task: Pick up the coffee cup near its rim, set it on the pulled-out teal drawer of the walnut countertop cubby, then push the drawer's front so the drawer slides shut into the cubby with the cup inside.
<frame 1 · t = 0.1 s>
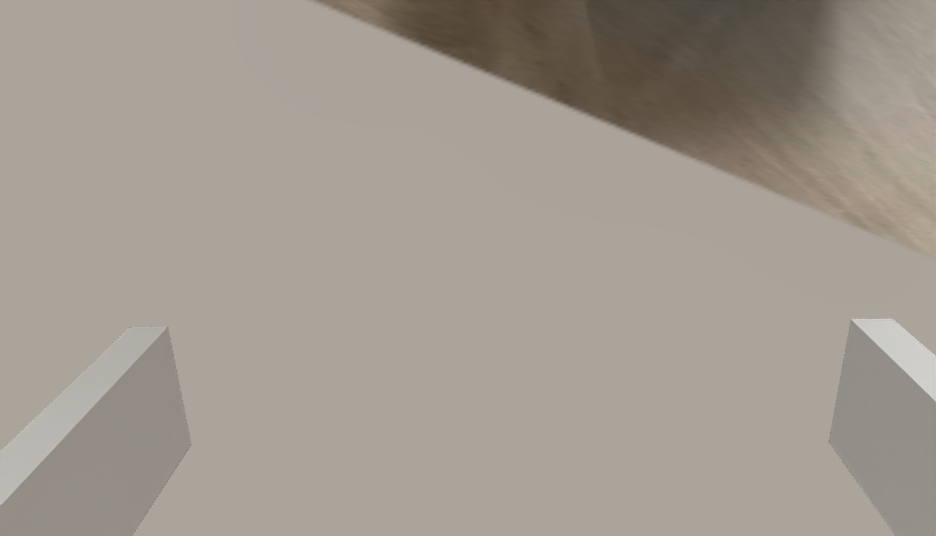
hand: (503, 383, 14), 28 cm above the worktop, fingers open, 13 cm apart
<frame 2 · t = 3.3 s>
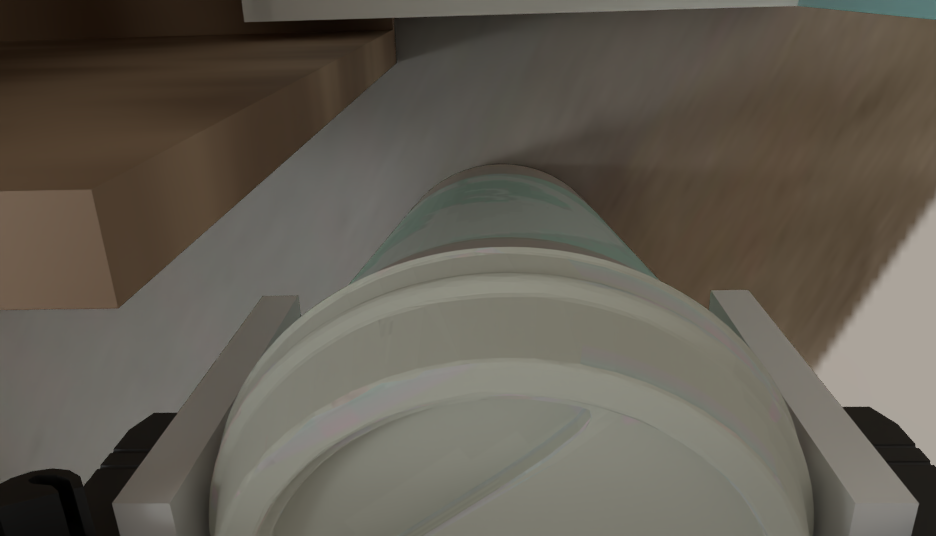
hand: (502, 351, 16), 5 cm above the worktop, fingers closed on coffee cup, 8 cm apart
coffee cup: (500, 264, 20), on the worktop, touching gripper
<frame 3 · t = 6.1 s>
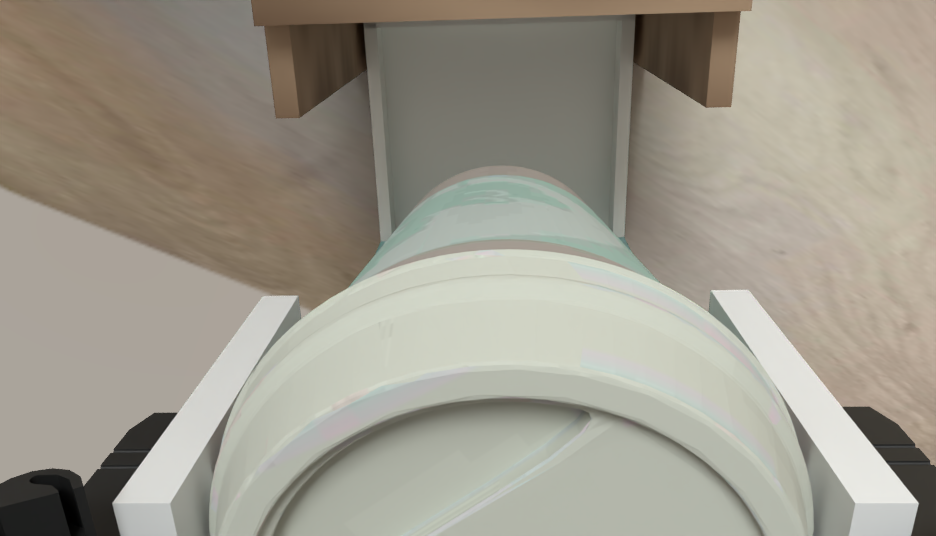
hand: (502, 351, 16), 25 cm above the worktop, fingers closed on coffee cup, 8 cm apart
coffee cup: (500, 265, 20), point 20 cm above the worktop, touching gripper
teal drawer: (500, 150, 35), point 4 cm above the worktop, slide at 8.5 cm
when the fingers open (8 cm above the worktop, at t = 9.1 s): coffee cup drops 1 cm, resting on teal drawer.
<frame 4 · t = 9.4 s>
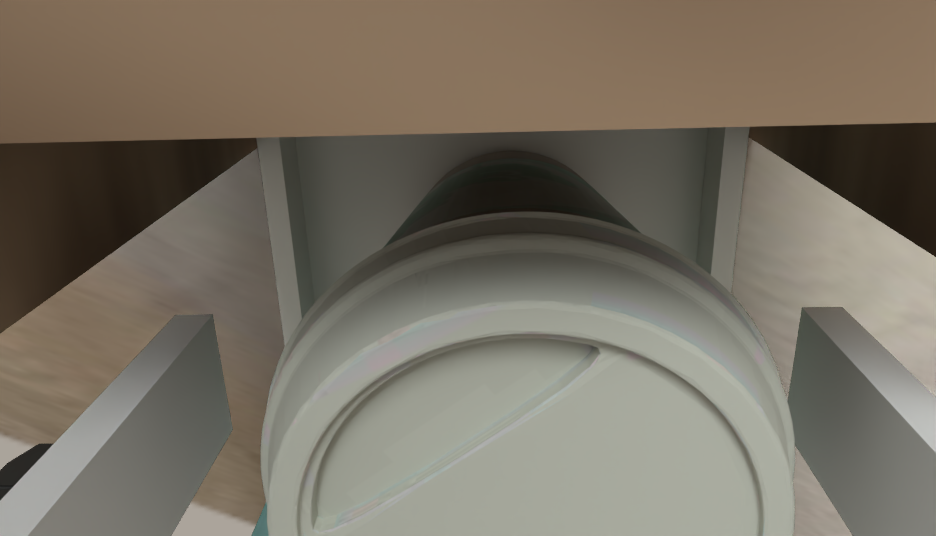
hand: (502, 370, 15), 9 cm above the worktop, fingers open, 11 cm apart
coffee cup: (509, 245, 22), point 1 cm above the worktop, touching teal drawer
teal drawer: (501, 300, 19), point 4 cm above the worktop, slide at 8.5 cm, touching coffee cup
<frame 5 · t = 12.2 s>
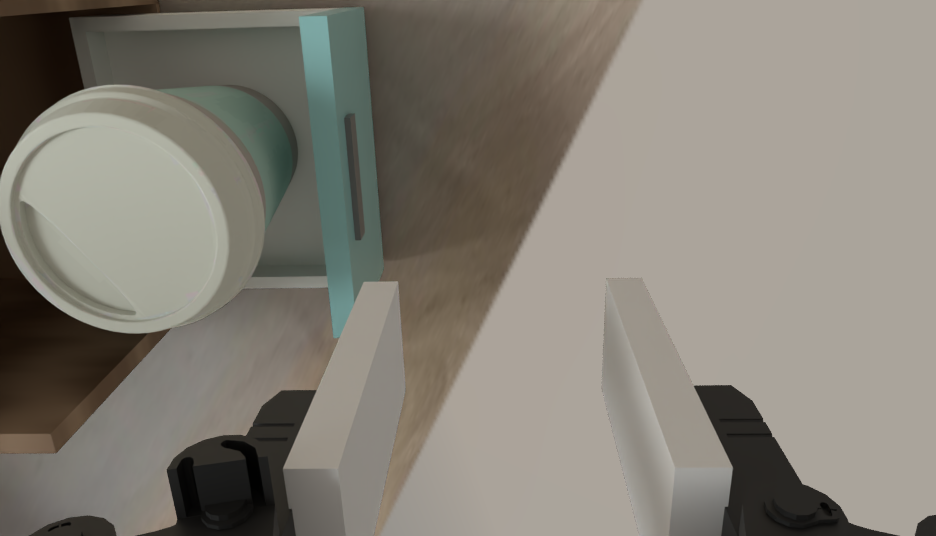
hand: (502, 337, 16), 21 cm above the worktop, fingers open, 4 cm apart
cubby: (65, 150, 36), on the worktop
coffee cup: (238, 146, 35), point 1 cm above the worktop, touching teal drawer
teal drawer: (223, 168, 32), point 4 cm above the worktop, slide at 8.5 cm, touching coffee cup
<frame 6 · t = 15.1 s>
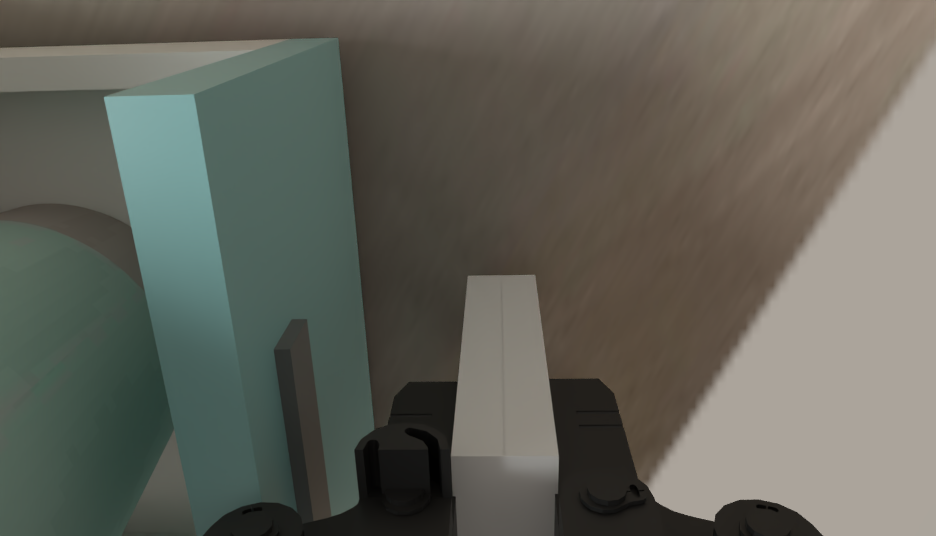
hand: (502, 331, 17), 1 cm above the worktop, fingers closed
coffee cup: (85, 321, 17), point 1 cm above the worktop, touching teal drawer
teal drawer: (21, 405, 14), point 4 cm above the worktop, slide at 8.4 cm, touching coffee cup, gripper
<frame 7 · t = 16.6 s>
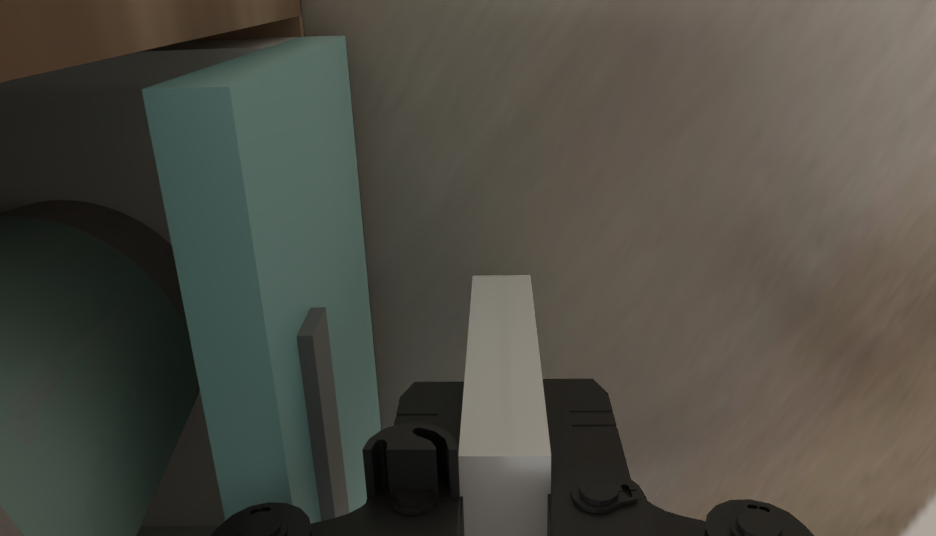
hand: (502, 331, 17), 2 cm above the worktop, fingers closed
cubby: (96, 304, 18), on the worktop
coffee cup: (94, 316, 17), point 1 cm above the worktop, touching teal drawer
teal drawer: (37, 398, 14), point 4 cm above the worktop, slide at 0.0 cm, touching coffee cup, cubby, gripper
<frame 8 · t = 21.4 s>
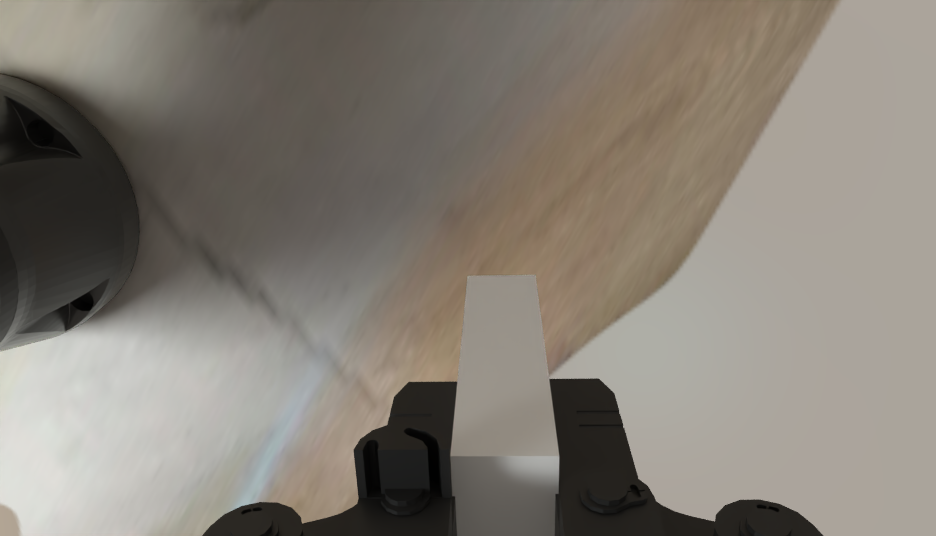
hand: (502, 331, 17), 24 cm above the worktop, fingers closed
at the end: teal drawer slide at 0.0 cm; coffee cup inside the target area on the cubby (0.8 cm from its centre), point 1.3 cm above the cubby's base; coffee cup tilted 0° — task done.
